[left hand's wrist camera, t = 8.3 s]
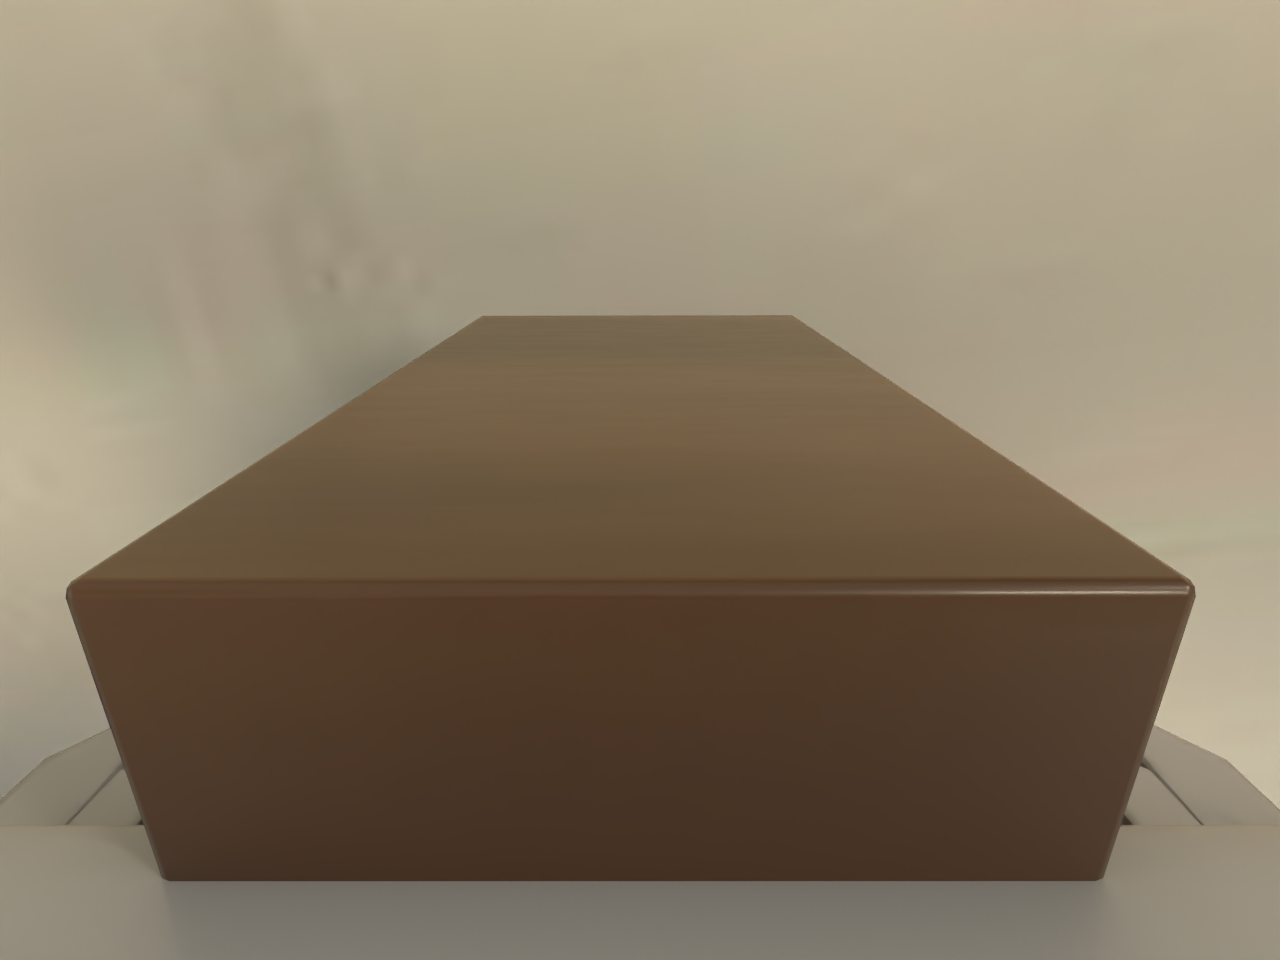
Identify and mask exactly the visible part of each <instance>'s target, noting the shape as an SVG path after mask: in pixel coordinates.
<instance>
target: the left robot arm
mask: <svg viewBox="0 0 1280 960" xmlns="http://www.w3.org/2000/svg"><path fill="white" fill-rule="evenodd" d="M0 960H1280V809H1278V808H1277V807H1276V806H1275V805H1274V804H1273V803H1272V802H1271V801H1270V800H1269V799H1268V798H1267V797H1266V796H1265V795H1263V794H1262V793H1261V792H1260V791H1259V790H1258V789H1257V788H1256V787H1255V786H1254V785H1253V784H1252V783H1251V782H1250V781H1248V780H1247V779H1246V778H1245V777H1244V776H1243V775H1242V774H1241V773H1240V772H1239V771H1238V770H1237V769H1236V768H1235V767H1233V766H1232V765H1231V764H1230V763H1229V762H1228V761H1227V760H1225V759H1223V758H1221V757H1219V756H1217V755H1215V754H1213V753H1211V752H1209V751H1207V750H1205V749H1203V748H1200V747H1198V746H1196V745H1194V744H1192V743H1190V742H1188V741H1186V740H1184V739H1182V738H1180V737H1178V736H1175V735H1173V734H1171V733H1169V732H1167V731H1165V730H1163V729H1161V728H1159V727H1157V726H1155V725H1153V728H1152V731H1151V734H1150V737H1149V740H1148V743H1147V746H1146V749H1145V752H1144V755H1143V758H1142V761H1141V764H1140V768H1139V771H1138V774H1137V777H1136V780H1135V783H1134V786H1133V789H1132V792H1131V795H1130V798H1129V801H1128V804H1127V807H1126V810H1125V813H1124V816H1123V819H1122V822H1121V825H1120V828H1119V831H1118V834H1117V838H1116V841H1115V844H1114V847H1113V850H1112V853H1111V856H1110V859H1109V862H1108V865H1107V868H1106V871H1105V874H1104V877H1103V878H1102V879H1100V880H1097V881H167V880H165V879H163V878H162V877H161V874H160V871H159V868H158V865H157V862H156V860H155V857H154V854H153V851H152V848H151V845H150V842H149V839H148V836H147V833H146V830H145V828H144V825H143V822H142V819H141V816H140V813H139V810H138V807H137V804H136V801H135V798H134V795H133V793H132V790H131V787H130V784H129V781H128V778H127V775H126V772H125V769H124V766H123V763H122V760H121V758H120V755H119V752H118V749H117V746H116V743H115V740H114V737H113V734H112V731H111V728H110V729H107V730H105V731H103V732H101V733H99V734H97V735H95V736H93V737H91V738H88V739H86V740H84V741H82V742H80V743H78V744H76V745H74V746H72V747H69V748H67V749H65V750H63V751H61V752H59V753H57V754H55V755H53V756H50V757H48V758H46V759H45V760H44V761H43V762H41V763H40V764H39V765H38V766H37V767H36V768H35V769H34V770H33V771H32V772H30V773H29V774H28V775H27V776H26V777H25V778H24V779H23V780H22V781H21V782H20V783H18V784H17V785H16V786H15V787H14V788H13V789H12V790H11V791H10V792H9V793H7V794H6V795H5V796H4V797H3V798H2V799H1V800H0Z"/></svg>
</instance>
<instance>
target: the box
mask: <svg viewBox="0 0 1280 960" xmlns="http://www.w3.org/2000/svg"><path fill="white" fill-rule="evenodd" d="M1195 597H1196V596H1195V587H1194V585H1193V584H1192V582H1191V581H1190V580H1189V579H1188V578H1186V577H1185V576H1183V575H1182V574H1180V573H1179V572H1177V571H1176V570H1174V569H1173V568H1171V567H1170V566H1168V565H1167V564H1165V563H1164V562H1162V561H1161V560H1159V559H1158V558H1156V557H1155V556H1153V555H1152V554H1150V553H1149V552H1147V551H1146V550H1144V549H1143V548H1141V547H1140V546H1138V545H1137V544H1135V543H1134V542H1132V541H1131V540H1129V539H1128V538H1126V537H1125V536H1123V535H1122V534H1120V533H1119V532H1117V531H1116V530H1114V529H1113V528H1111V527H1110V526H1108V525H1107V524H1105V523H1104V522H1102V521H1100V520H1099V519H1097V518H1096V517H1094V516H1093V515H1091V514H1090V513H1088V512H1087V511H1085V510H1084V509H1082V508H1081V507H1079V506H1078V505H1076V504H1075V503H1073V502H1072V501H1070V500H1069V499H1067V498H1066V497H1064V496H1063V495H1061V494H1060V493H1058V492H1057V491H1055V490H1054V489H1052V488H1051V487H1049V486H1048V485H1046V484H1045V483H1043V482H1042V481H1040V480H1039V479H1037V478H1036V477H1034V476H1033V475H1031V474H1030V473H1028V472H1027V471H1025V470H1024V469H1022V468H1021V467H1019V466H1018V465H1016V464H1015V463H1013V462H1012V461H1010V460H1009V459H1007V458H1006V457H1004V456H1003V455H1001V454H1000V453H998V452H997V451H995V450H994V449H992V448H991V447H989V446H988V445H986V444H985V443H983V442H982V441H980V440H979V439H977V438H976V437H974V436H973V435H971V434H970V433H968V432H967V431H965V430H964V429H962V428H961V427H959V426H958V425H956V424H955V423H953V422H952V421H950V420H949V419H947V418H946V417H944V416H943V415H941V414H940V413H938V412H937V411H935V410H934V409H932V408H931V407H929V406H928V405H926V404H925V403H923V402H921V401H920V400H918V399H917V398H915V397H914V396H912V395H911V394H909V393H908V392H906V391H905V390H903V389H902V388H900V387H899V386H897V385H896V384H894V383H893V382H891V381H890V380H888V379H887V378H885V377H884V376H882V375H881V374H879V373H878V372H876V371H875V370H873V369H872V368H870V367H869V366H867V365H866V364H864V363H863V362H861V361H860V360H858V359H857V358H855V357H854V356H852V355H851V354H849V353H848V352H846V351H845V350H843V349H842V348H840V347H839V346H837V345H836V344H834V343H833V342H831V341H830V340H828V339H827V338H825V337H824V336H822V335H821V334H819V333H818V332H816V331H815V330H813V329H812V328H810V327H809V326H807V325H806V324H804V323H803V322H801V321H800V320H798V319H797V318H795V317H793V316H482V317H480V318H479V319H477V320H475V321H474V322H472V323H471V324H469V325H468V326H466V327H465V328H463V329H462V330H460V331H458V332H457V333H455V334H454V335H452V336H451V337H449V338H448V339H446V340H445V341H443V342H441V343H440V344H438V345H437V346H435V347H434V348H432V349H431V350H429V351H428V352H426V353H424V354H423V355H421V356H420V357H418V358H417V359H415V360H414V361H412V362H410V363H409V364H407V365H406V366H404V367H403V368H401V369H400V370H398V371H397V372H395V373H393V374H392V375H390V376H389V377H387V378H386V379H384V380H383V381H381V382H380V383H378V384H376V385H375V386H373V387H372V388H370V389H369V390H367V391H366V392H364V393H363V394H361V395H359V396H358V397H356V398H355V399H353V400H352V401H350V402H349V403H347V404H346V405H344V406H342V407H341V408H339V409H338V410H336V411H335V412H333V413H332V414H330V415H328V416H327V417H325V418H324V419H322V420H321V421H319V422H318V423H316V424H315V425H313V426H311V427H310V428H308V429H307V430H305V431H304V432H302V433H301V434H299V435H298V436H296V437H294V438H293V439H291V440H290V441H288V442H287V443H285V444H284V445H282V446H281V447H279V448H277V449H276V450H274V451H273V452H271V453H270V454H268V455H267V456H265V457H263V458H262V459H260V460H259V461H257V462H256V463H254V464H253V465H251V466H250V467H248V468H246V469H245V470H243V471H242V472H240V473H239V474H237V475H236V476H234V477H233V478H231V479H229V480H228V481H226V482H225V483H223V484H222V485H220V486H219V487H217V488H216V489H214V490H212V491H211V492H209V493H208V494H206V495H205V496H203V497H202V498H200V499H199V500H197V501H195V502H194V503H192V504H191V505H189V506H188V507H186V508H185V509H183V510H181V511H180V512H178V513H177V514H175V515H174V516H172V517H171V518H169V519H168V520H166V521H164V522H163V523H161V524H160V525H158V526H157V527H155V528H154V529H152V530H151V531H149V532H147V533H146V534H144V535H143V536H141V537H140V538H138V539H137V540H135V541H134V542H132V543H130V544H129V545H127V546H126V547H124V548H123V549H121V550H120V551H118V552H117V553H115V554H113V555H112V556H110V557H109V558H107V559H106V560H104V561H103V562H101V563H99V564H98V565H96V566H95V567H93V568H92V569H90V570H89V571H87V572H86V573H84V574H82V575H81V576H79V577H78V578H76V579H75V580H73V581H72V582H71V583H70V585H69V586H68V587H67V592H66V600H67V603H68V606H69V609H70V612H71V615H72V618H73V621H74V623H75V626H76V629H77V632H78V635H79V638H80V641H81V644H82V647H83V650H84V653H85V656H86V658H87V661H88V664H89V667H90V670H91V673H92V676H93V679H94V682H95V685H96V688H97V690H98V693H99V696H100V699H101V702H102V705H103V708H104V711H105V714H106V717H107V720H108V723H109V725H110V728H111V731H112V734H113V737H114V740H115V743H116V746H117V749H118V752H119V755H120V758H121V760H122V763H123V766H124V769H125V772H126V775H127V778H128V781H129V784H130V787H131V790H132V793H133V795H134V798H135V801H136V804H137V807H138V810H139V813H140V816H141V819H142V822H143V825H144V828H145V830H146V833H147V836H148V839H149V842H150V845H151V848H152V851H153V854H154V857H155V860H156V862H157V865H158V868H159V871H160V874H161V877H162V878H163V879H165V880H167V881H1097V880H1100V879H1102V878H1103V877H1104V874H1105V871H1106V868H1107V865H1108V862H1109V859H1110V856H1111V853H1112V850H1113V847H1114V844H1115V841H1116V838H1117V834H1118V831H1119V828H1120V825H1121V822H1122V819H1123V816H1124V813H1125V810H1126V807H1127V804H1128V801H1129V798H1130V795H1131V792H1132V789H1133V786H1134V783H1135V780H1136V777H1137V774H1138V771H1139V768H1140V764H1141V761H1142V758H1143V755H1144V752H1145V749H1146V746H1147V743H1148V740H1149V737H1150V734H1151V731H1152V728H1153V725H1154V722H1155V719H1156V716H1157V713H1158V710H1159V707H1160V704H1161V701H1162V697H1163V694H1164V691H1165V688H1166V685H1167V682H1168V679H1169V676H1170V673H1171V670H1172V667H1173V664H1174V661H1175V658H1176V655H1177V652H1178V649H1179V646H1180V643H1181V640H1182V637H1183V634H1184V630H1185V627H1186V624H1187V621H1188V618H1189V615H1190V612H1191V609H1192V606H1193V603H1194V600H1195Z"/></svg>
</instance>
